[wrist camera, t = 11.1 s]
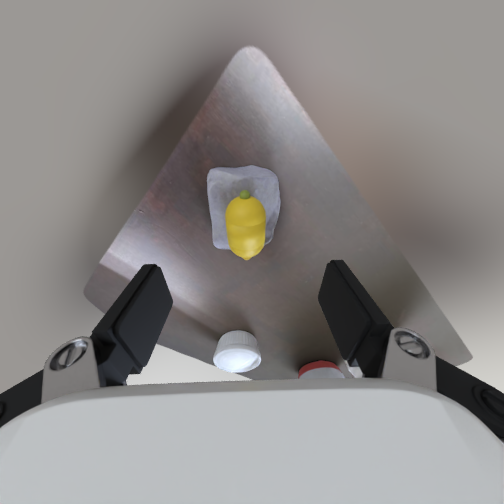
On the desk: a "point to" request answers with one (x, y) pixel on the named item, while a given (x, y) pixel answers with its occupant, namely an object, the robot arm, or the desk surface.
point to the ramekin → (237, 352)
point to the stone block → (229, 187)
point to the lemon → (245, 225)
